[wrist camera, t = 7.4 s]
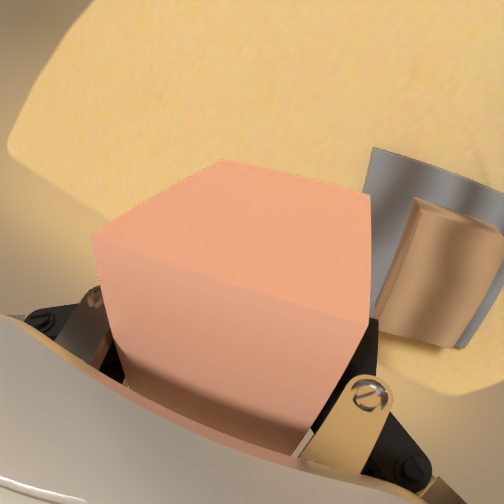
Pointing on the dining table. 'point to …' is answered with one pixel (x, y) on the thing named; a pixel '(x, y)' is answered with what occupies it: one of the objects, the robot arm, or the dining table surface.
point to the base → (433, 187)
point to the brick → (239, 297)
